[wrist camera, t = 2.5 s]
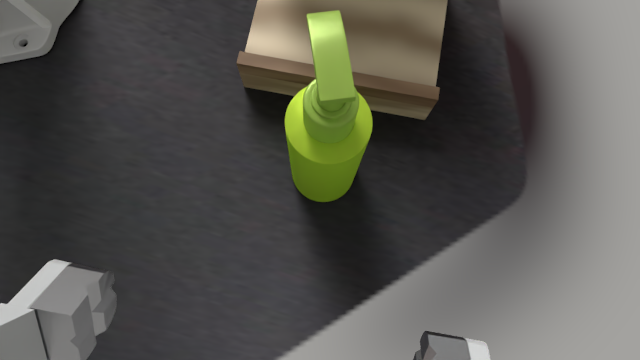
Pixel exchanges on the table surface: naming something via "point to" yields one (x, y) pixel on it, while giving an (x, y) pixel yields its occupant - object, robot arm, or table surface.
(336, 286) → the table surface
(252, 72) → the wall board
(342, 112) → the soap dispenser
